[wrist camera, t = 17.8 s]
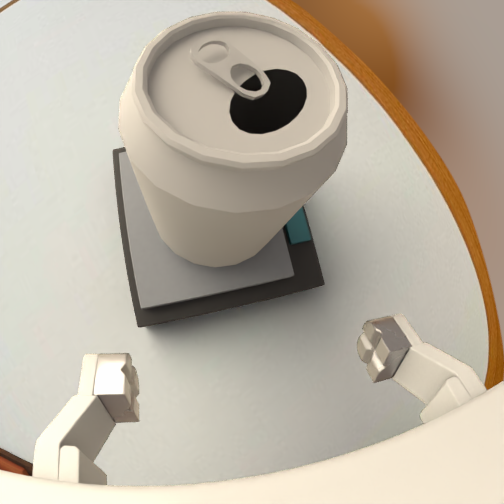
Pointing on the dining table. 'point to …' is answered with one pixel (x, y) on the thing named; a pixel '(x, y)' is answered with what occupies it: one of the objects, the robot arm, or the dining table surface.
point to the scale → (199, 276)
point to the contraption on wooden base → (14, 464)
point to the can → (231, 131)
